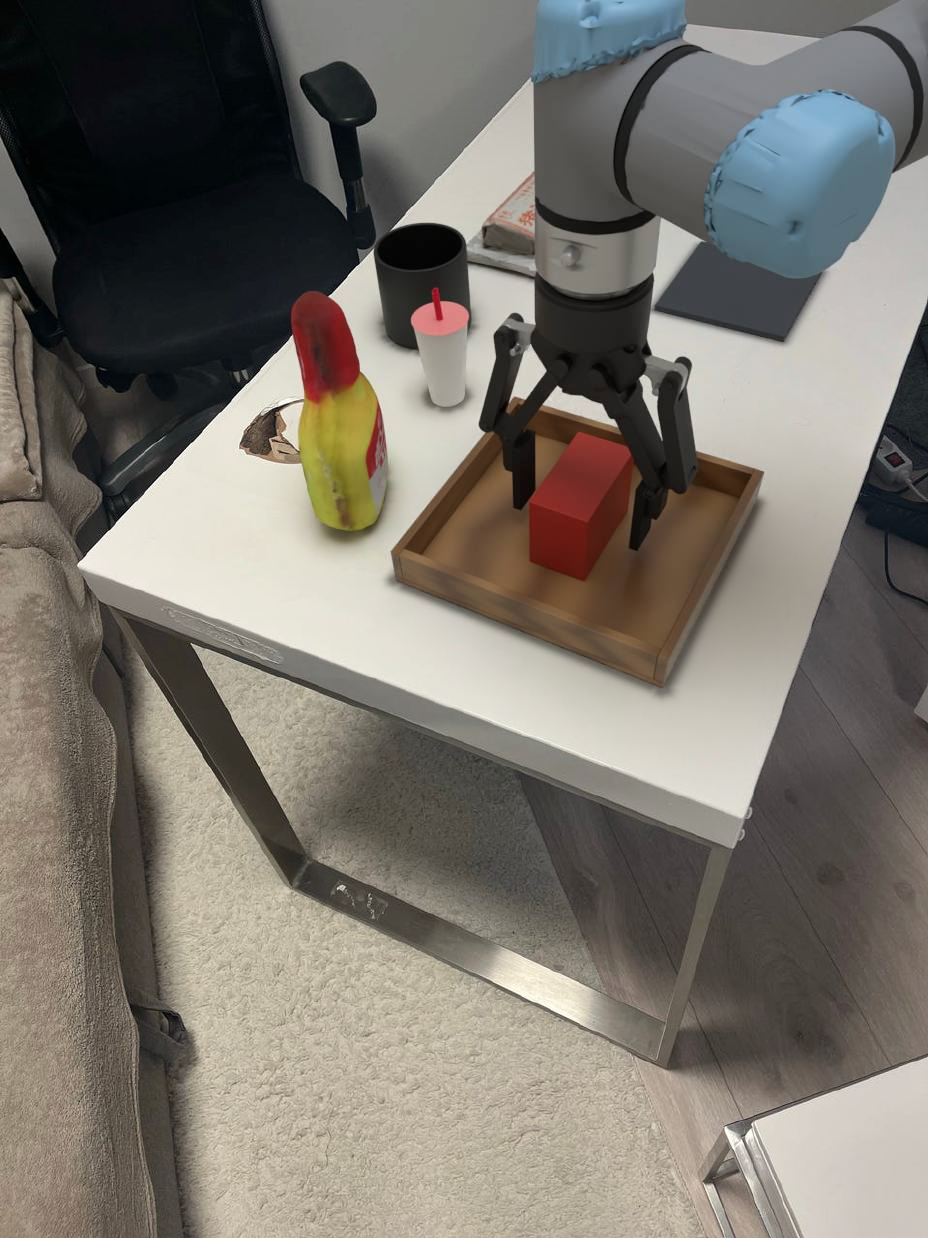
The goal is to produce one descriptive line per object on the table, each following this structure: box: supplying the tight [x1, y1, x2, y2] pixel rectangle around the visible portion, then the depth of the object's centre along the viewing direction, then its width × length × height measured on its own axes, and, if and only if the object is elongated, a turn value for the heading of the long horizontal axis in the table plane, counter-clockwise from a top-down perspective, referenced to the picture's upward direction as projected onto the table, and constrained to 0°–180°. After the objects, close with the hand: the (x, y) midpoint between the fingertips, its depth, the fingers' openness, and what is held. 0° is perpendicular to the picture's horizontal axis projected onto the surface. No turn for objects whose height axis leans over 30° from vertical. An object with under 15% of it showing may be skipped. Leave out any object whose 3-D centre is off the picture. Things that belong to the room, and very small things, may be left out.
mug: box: [372, 222, 472, 350], centre depth 93 cm, size 9×12×9 cm
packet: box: [529, 432, 634, 581], centre depth 72 cm, size 5×9×7 cm, turn 151°
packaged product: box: [466, 171, 537, 278], centre depth 104 cm, size 18×5×10 cm
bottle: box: [290, 290, 389, 531], centre depth 72 cm, size 12×6×20 cm, turn 168°
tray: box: [390, 395, 765, 688], centre depth 73 cm, size 24×22×4 cm
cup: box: [411, 288, 469, 408], centre depth 83 cm, size 5×5×12 cm
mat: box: [654, 240, 824, 342], centre depth 95 cm, size 14×14×1 cm
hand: (580, 518), depth 73 cm, fingers open, 10 cm apart
